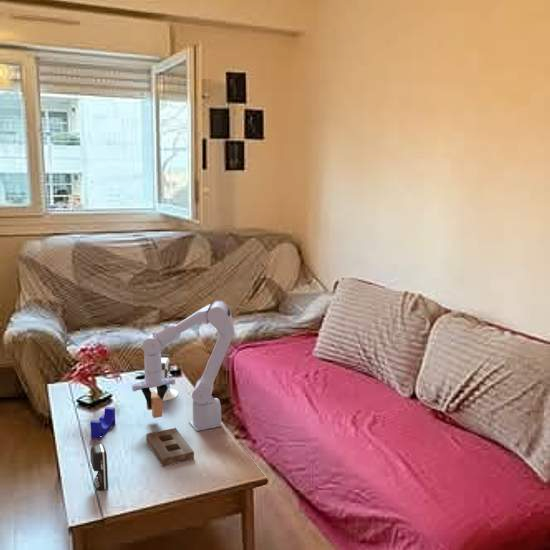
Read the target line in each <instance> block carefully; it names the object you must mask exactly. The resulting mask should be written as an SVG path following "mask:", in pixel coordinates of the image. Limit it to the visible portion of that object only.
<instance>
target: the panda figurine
mask: <svg viewBox="0 0 550 550" xmlns="http://www.w3.org/2000/svg"><path fill="white" fill-rule="evenodd" d="M170 359H171V355H170V354H166V353H164V354H162V353H161V363H162V378H172V377H171V369H172V368H171V365H172V364H171V360H170ZM170 385H171V384H170ZM170 385H166V387H167V391H166V393H165V395H164V397H163V400H162V402H165V401H170V400H174V399H175V398H177V397H178V396H179V391H178V390H176V389H173V388H170V387H171V386H170ZM152 391H155V392H156V393H157V388H156V389H154V390H152Z"/></svg>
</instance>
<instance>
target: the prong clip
mask: <svg viewBox="0 0 550 550" xmlns="http://www.w3.org/2000/svg"><path fill="white" fill-rule="evenodd" d="M150 391H151V409H149V408H148V405H147V404H146V410H148V411H151V416H152V418H153V419H156V418H162V417H163V401H162V399H161V398H160V397H159V395H158V394H157V393H156V392H155V391H153V390H150Z"/></svg>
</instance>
